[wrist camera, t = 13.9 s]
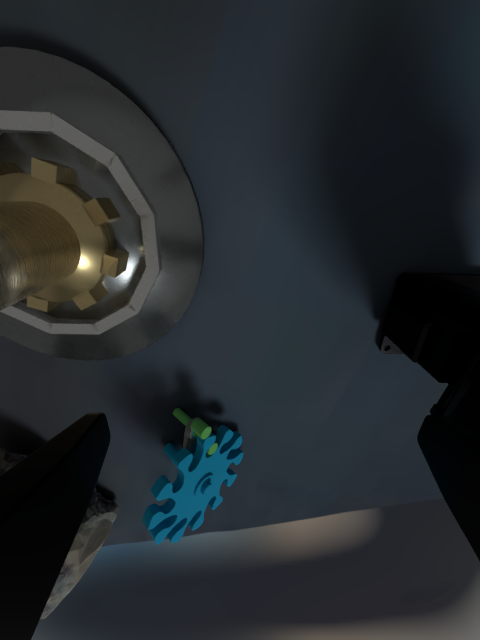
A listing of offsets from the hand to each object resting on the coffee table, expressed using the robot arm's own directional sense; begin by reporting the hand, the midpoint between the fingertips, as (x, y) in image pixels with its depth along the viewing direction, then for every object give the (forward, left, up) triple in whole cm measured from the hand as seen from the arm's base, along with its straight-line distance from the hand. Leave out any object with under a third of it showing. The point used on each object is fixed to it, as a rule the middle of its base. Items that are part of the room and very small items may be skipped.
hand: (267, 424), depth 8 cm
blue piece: (+3, +16, -13) cm, 21 cm away
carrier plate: (+12, -3, -13) cm, 18 cm away
